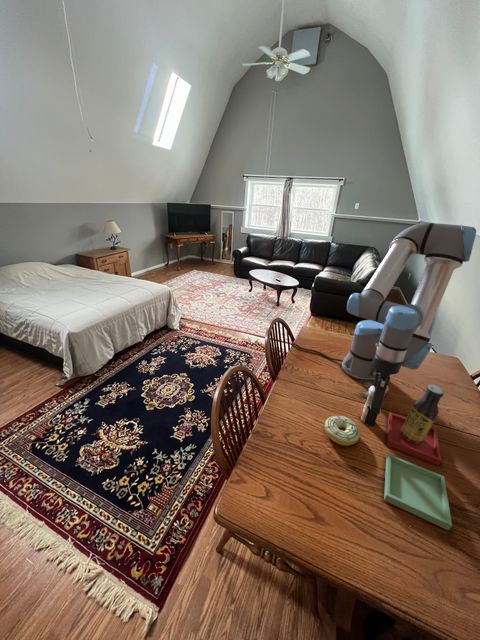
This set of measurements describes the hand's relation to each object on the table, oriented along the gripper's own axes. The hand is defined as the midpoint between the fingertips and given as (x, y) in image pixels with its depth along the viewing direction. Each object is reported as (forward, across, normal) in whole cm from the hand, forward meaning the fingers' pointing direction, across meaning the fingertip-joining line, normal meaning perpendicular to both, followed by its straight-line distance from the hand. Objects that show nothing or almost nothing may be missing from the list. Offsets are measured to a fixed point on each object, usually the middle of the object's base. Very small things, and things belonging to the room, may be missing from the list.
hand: (370, 411), depth 89 cm
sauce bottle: (+4, +1, +13) cm, 14 cm away
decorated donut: (+5, +10, -7) cm, 13 cm away
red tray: (+4, +1, +13) cm, 14 cm away
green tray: (+5, +20, +13) cm, 24 cm away
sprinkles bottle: (+5, 0, 0) cm, 5 cm away
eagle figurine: (+4, -16, 0) cm, 17 cm away
